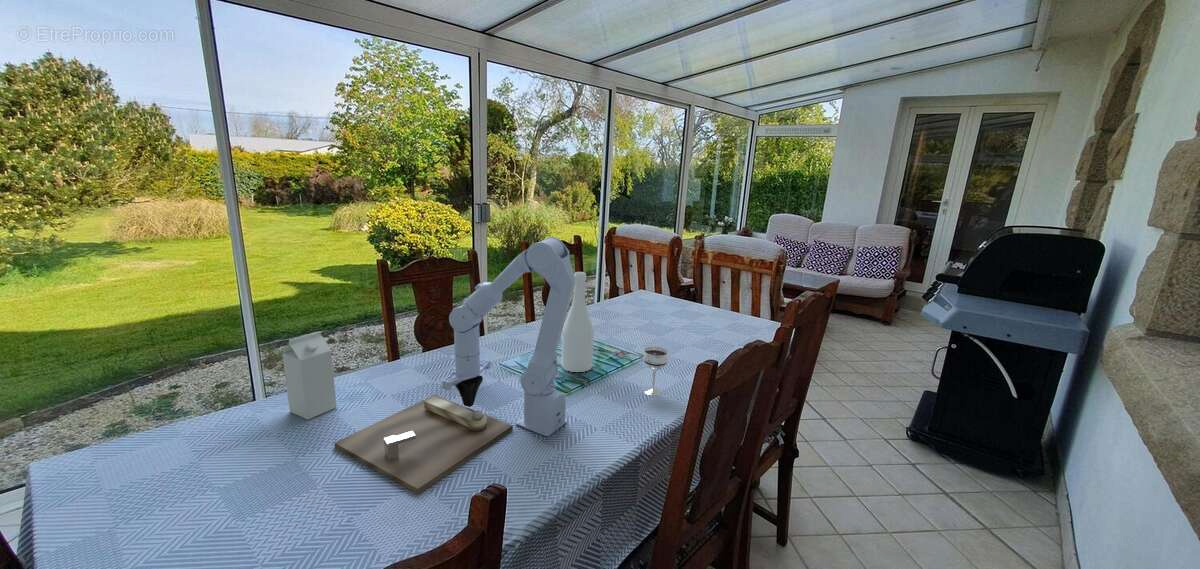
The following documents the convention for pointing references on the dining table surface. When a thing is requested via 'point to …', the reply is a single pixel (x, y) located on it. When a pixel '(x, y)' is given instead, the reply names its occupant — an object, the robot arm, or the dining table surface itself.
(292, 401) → the milk carton
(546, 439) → the dining table surface
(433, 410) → the swing bar
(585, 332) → the wine bottle
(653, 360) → the wineglass
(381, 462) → the base board
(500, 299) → the robot arm
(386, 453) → the block
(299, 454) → the dining table surface
